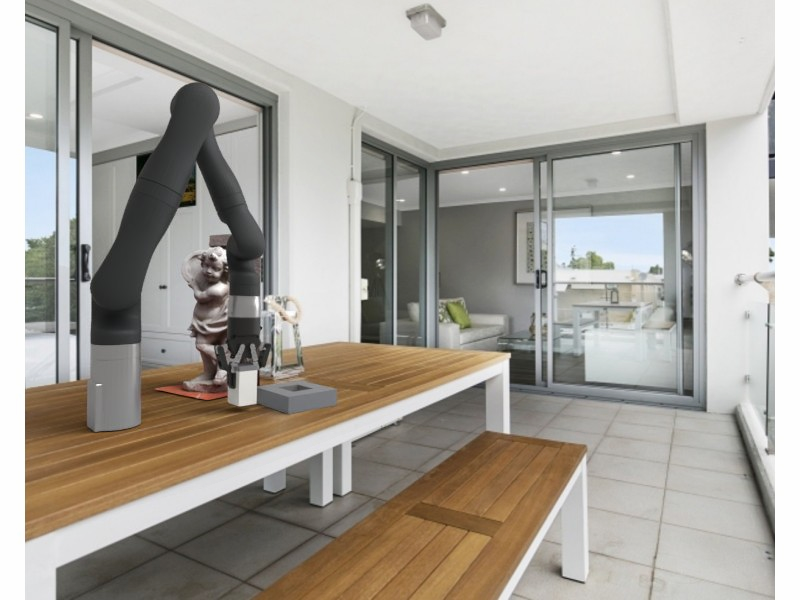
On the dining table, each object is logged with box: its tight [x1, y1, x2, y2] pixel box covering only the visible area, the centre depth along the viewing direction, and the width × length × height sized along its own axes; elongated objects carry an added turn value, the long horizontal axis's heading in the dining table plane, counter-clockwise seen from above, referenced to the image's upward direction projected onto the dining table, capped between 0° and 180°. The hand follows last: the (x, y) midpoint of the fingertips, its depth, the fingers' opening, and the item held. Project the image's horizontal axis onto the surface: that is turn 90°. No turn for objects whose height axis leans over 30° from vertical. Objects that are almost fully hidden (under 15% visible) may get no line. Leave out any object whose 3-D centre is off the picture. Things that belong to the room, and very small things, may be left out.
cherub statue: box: [155, 233, 263, 401], centre depth 142 cm, size 23×19×45 cm
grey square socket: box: [256, 379, 338, 415], centre depth 127 cm, size 14×16×4 cm
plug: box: [227, 363, 257, 407], centre depth 119 cm, size 4×6×9 cm
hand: (242, 386), depth 119 cm, fingers closed on plug, 4 cm apart
